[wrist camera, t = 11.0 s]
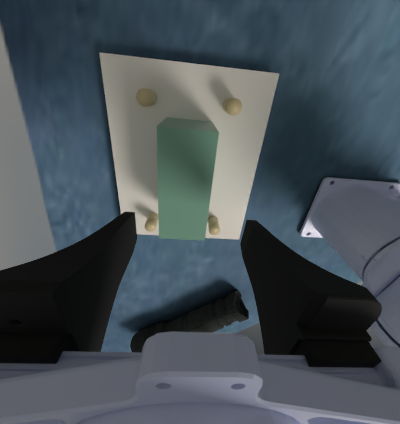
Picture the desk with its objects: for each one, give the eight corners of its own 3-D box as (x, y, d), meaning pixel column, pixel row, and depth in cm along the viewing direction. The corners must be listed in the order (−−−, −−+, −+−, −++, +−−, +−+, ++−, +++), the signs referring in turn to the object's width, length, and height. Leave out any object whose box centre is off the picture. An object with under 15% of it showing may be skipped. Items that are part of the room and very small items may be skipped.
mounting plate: (274, 74, 17) (289, 71, 14) (237, 233, 26) (242, 250, 23) (105, 54, 16) (87, 47, 13) (126, 227, 25) (118, 244, 22)
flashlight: (133, 326, 36) (125, 357, 32) (231, 281, 31) (237, 311, 27) (151, 338, 39) (146, 368, 34) (246, 297, 33) (253, 328, 29)
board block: (212, 121, 18) (219, 132, 13) (202, 209, 22) (204, 240, 17) (166, 117, 17) (156, 126, 13) (166, 206, 22) (158, 238, 17)
